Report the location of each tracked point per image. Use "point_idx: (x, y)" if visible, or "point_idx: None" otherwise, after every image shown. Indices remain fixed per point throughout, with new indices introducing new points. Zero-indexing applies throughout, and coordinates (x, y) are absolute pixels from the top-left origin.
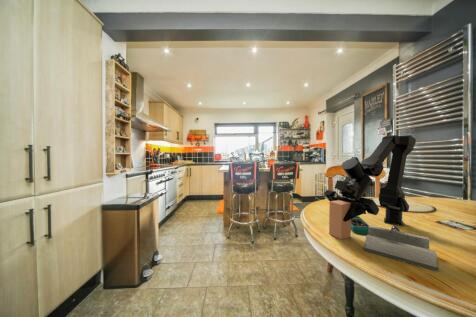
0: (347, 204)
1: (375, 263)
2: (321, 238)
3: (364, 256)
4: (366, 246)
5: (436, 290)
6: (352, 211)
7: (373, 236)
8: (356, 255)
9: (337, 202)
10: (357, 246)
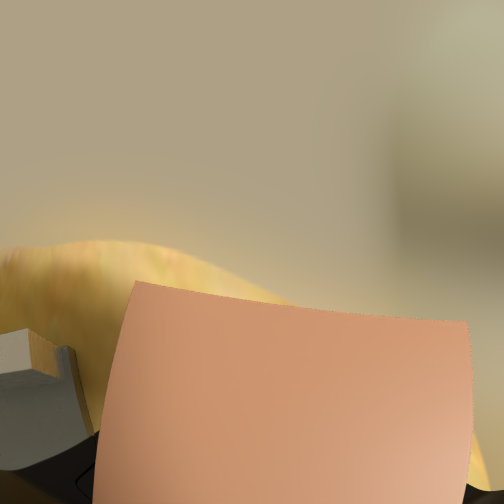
0: (97, 499)
1: (33, 276)
2: (271, 297)
3: (63, 295)
4: (54, 344)
5: None
6: (68, 463)
7: (7, 370)
8: (86, 277)
9: (347, 417)
10: (107, 372)
